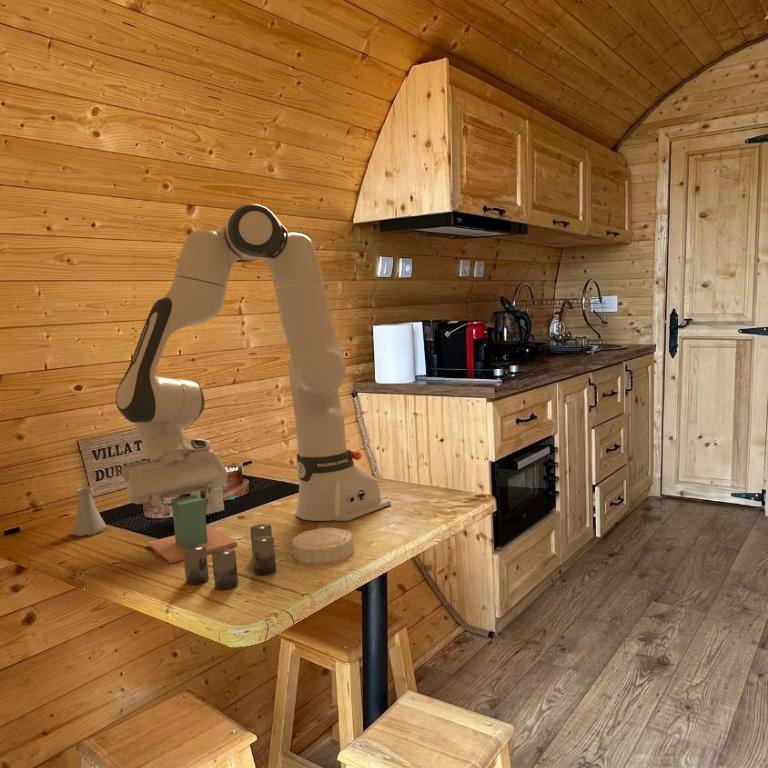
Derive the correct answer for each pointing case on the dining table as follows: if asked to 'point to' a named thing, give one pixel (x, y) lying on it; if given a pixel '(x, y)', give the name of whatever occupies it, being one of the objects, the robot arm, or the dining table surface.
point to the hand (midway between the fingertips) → (189, 509)
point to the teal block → (189, 521)
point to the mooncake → (322, 545)
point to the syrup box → (217, 496)
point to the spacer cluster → (230, 560)
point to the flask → (87, 515)
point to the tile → (175, 551)
